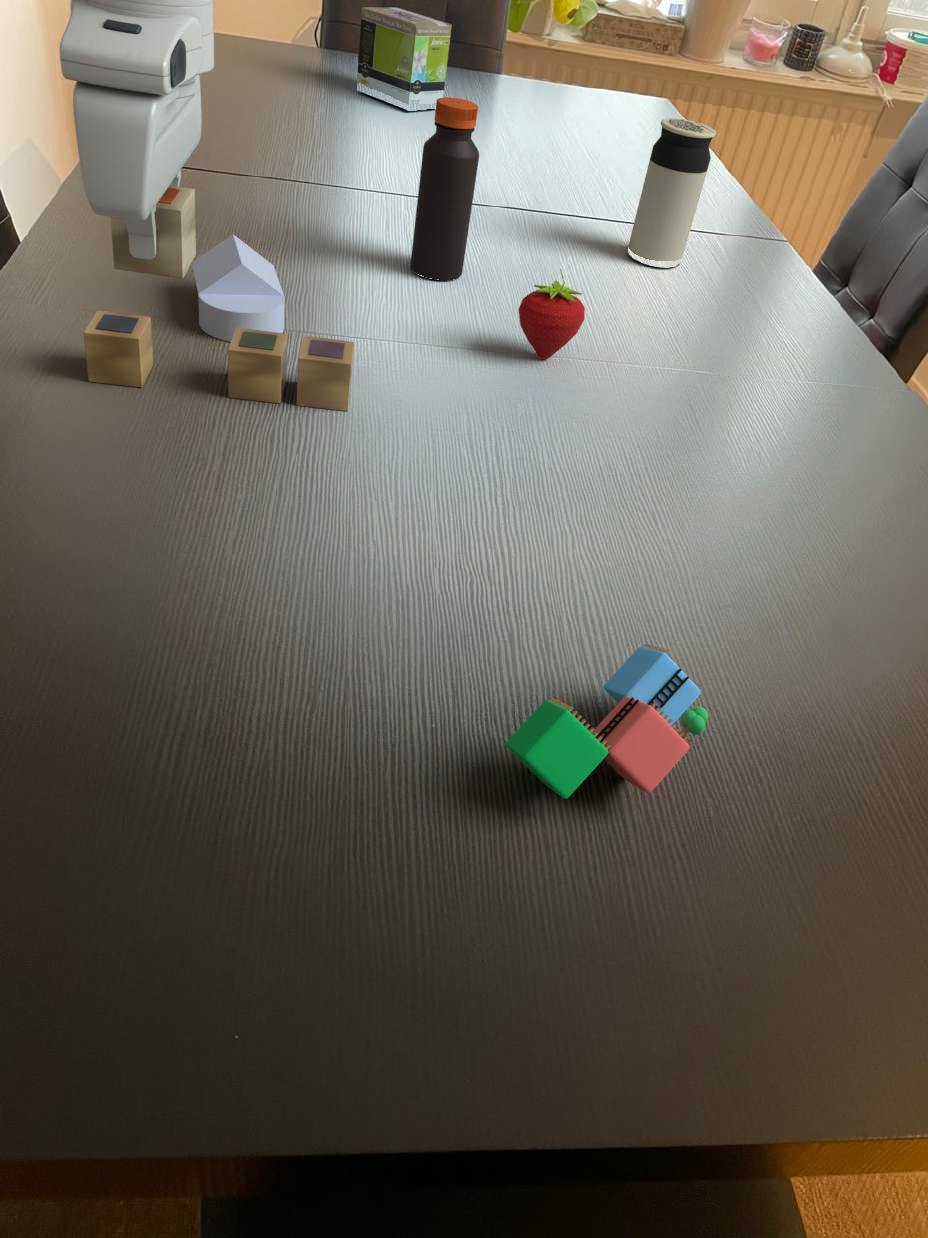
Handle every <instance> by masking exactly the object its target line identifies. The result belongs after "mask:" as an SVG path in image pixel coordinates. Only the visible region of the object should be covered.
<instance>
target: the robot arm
mask: <svg viewBox="0 0 928 1238" xmlns="http://www.w3.org/2000/svg"><path fill="white" fill-rule="evenodd" d="M69 5H70V6H69V7H70V13H69V14H70V15H69V19H68V22H67V25H66V28H65V30H64V33H63V35H62V37H61V39H60V43H59V61H60V63H59V64H60V70H61V74H62V76H63V78H64V79H66V80H69V81H74V82H75V85H74V87H73V92H72V93H73V94H72V95H73V96H72V109H73V112H72V113H73V122H74V127H75V128H74V130H75V136H76V138H75V139H76V145H77V151H78V153H77V154H78V161H79V165H80V171H81V178H82V184H83V190H84V193H85V197H86V199H87V201H88V202H87V203H88V204H89V206H90V208H91V210H92V212H94V214H96V215H99V216H102V217H108V218H111V217H113V218H119V219H123V220H124V223H125V226H126V229H127V231H128V235H129V250H130V253H131V255H132V256H133V257H135V258H140V259H147V260H152V259H153V258H154V257H155V255H156V254H157V252H158V250H159V237H158V230H157V229H156V225H155V215H154V212H155V211H156V204H157V203H158V201H159V200H160V198H161V197H162V195H163V194H164V193H165V191H166V190H167V188H168V187H169V185H171V186H178V187H180V185H181V180H182V179H181V178H182V168H183V167H184V165H185V164H186V162H187V161H188V160H189V158H190V157H191V155H192V154H193V152H194V151H195V150H196V148H197V146H199V144H200V141H201V136H202V128H203V127H202V126H203V125H202V124H203V119H202V95H201V94H202V93H201V75H203V74H207V73H209V72H211V71H213V69H214V67H215V0H70V4H69Z"/></svg>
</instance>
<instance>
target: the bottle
mask: <svg viewBox="0 0 928 1238" xmlns="http://www.w3.org/2000/svg"><path fill="white" fill-rule="evenodd" d="M478 112H479V106H478V105H477V103H475V102H473V101H470V100H468V99H463V98H459V97H451V96H450V97H449V96H447V97H446V96H443V98H439V99H437V101H436V110H434V126H435V133H433V134H432V135H431V136H430V137H429V138H428V139H427V140H426V141H425V142H424V144H423V148H422V157H421V166H420V174H419V184H418V193H417V202H416V211H415V220H414V227H413V239H412V248H411V255H410V256H411V257H410V269H411V271H412V272H413V271H414V272H416V273H417V274H419V275H422V276H424V277H427V278H432V279H439V280H451V281H454V280H453V279H455V280H457V279H459V278H460V277H461V276H462V275H463V270H464V265H465V257H466V251H467V243H468V237H469V229H470V222H471V215H472V209H473V201H474V195H475V189H476V188H475V187H476V180H477V174H478V167H479V160H480V152H479V149H478V148H477V145H476V144H475V142H474V141H473V140H472V133H474V132H475V128H476V126H477V118H478ZM414 272H413V273H414ZM416 273H415V274H416ZM417 274H416V275H417ZM419 275H418V276H419ZM456 278H457V279H456Z"/></svg>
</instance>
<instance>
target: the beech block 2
mask: <svg viewBox="0 0 928 1238" xmlns="http://www.w3.org/2000/svg"><path fill="white" fill-rule="evenodd" d="M287 359H288V333H285V332H283V333H277V332H269V331H261V330H253V329H244V328H235V331H234V334H233V336H232V339H231V342H229V344H228V348H227V397H228V398H229V399H238V400H247V401H248V400H249V401H256V402H262V403H263V402H265V403H273V404H281V402H282V398H283V394H284V391H285V387H286V381H287V365H288V364H287V363H288V360H287Z"/></svg>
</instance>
